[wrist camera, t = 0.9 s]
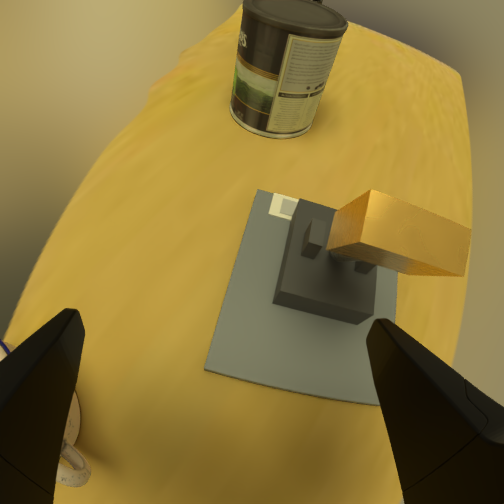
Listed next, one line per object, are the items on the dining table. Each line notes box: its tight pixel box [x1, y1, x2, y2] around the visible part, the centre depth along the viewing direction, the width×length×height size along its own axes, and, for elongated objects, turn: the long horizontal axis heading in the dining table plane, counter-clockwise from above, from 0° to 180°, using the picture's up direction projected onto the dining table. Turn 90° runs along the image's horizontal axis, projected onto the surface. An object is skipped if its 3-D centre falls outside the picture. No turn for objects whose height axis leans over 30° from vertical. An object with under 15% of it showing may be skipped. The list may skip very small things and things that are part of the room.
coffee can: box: [230, 0, 348, 139], centre depth 30 cm, size 10×10×14 cm
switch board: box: [204, 189, 398, 406], centre depth 23 cm, size 16×14×6 cm
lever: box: [326, 189, 471, 277], centre depth 17 cm, size 2×5×12 cm, turn 75°
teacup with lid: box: [0, 339, 91, 487], centre depth 13 cm, size 12×9×12 cm
